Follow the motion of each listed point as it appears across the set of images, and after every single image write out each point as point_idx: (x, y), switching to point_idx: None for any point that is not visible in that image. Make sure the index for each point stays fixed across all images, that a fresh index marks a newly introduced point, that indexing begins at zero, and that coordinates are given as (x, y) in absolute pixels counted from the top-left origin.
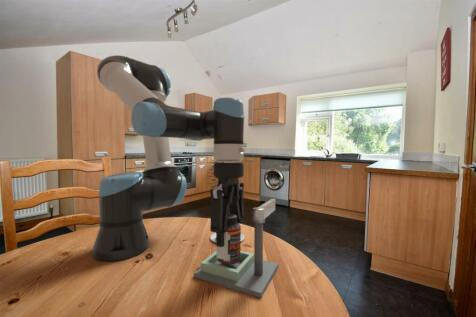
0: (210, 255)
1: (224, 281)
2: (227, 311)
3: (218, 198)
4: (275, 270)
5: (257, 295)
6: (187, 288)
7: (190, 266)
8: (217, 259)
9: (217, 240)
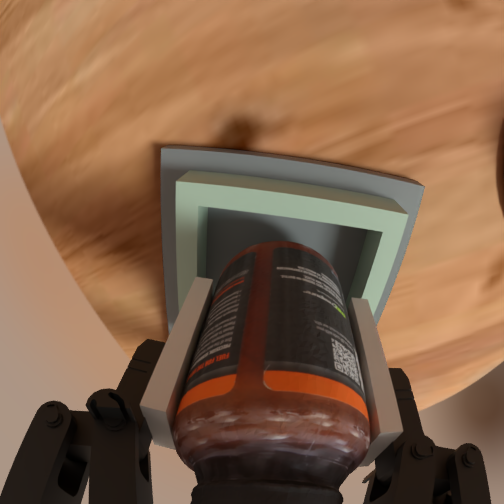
0: (275, 193)
1: (167, 290)
2: (98, 313)
3: None
4: None
5: None
6: (103, 167)
7: (245, 74)
8: (241, 251)
9: (129, 372)
